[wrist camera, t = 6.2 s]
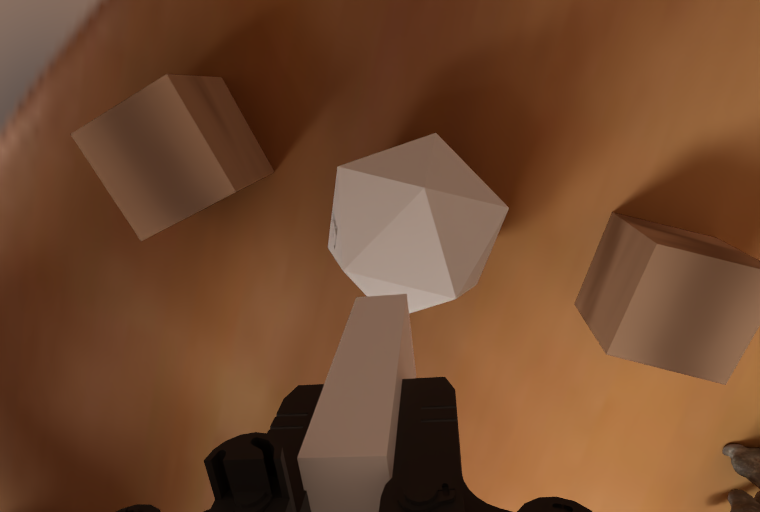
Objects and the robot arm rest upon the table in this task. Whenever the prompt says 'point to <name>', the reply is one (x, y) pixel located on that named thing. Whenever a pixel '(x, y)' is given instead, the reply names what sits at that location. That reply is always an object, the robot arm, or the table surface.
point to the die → (414, 223)
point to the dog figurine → (747, 463)
